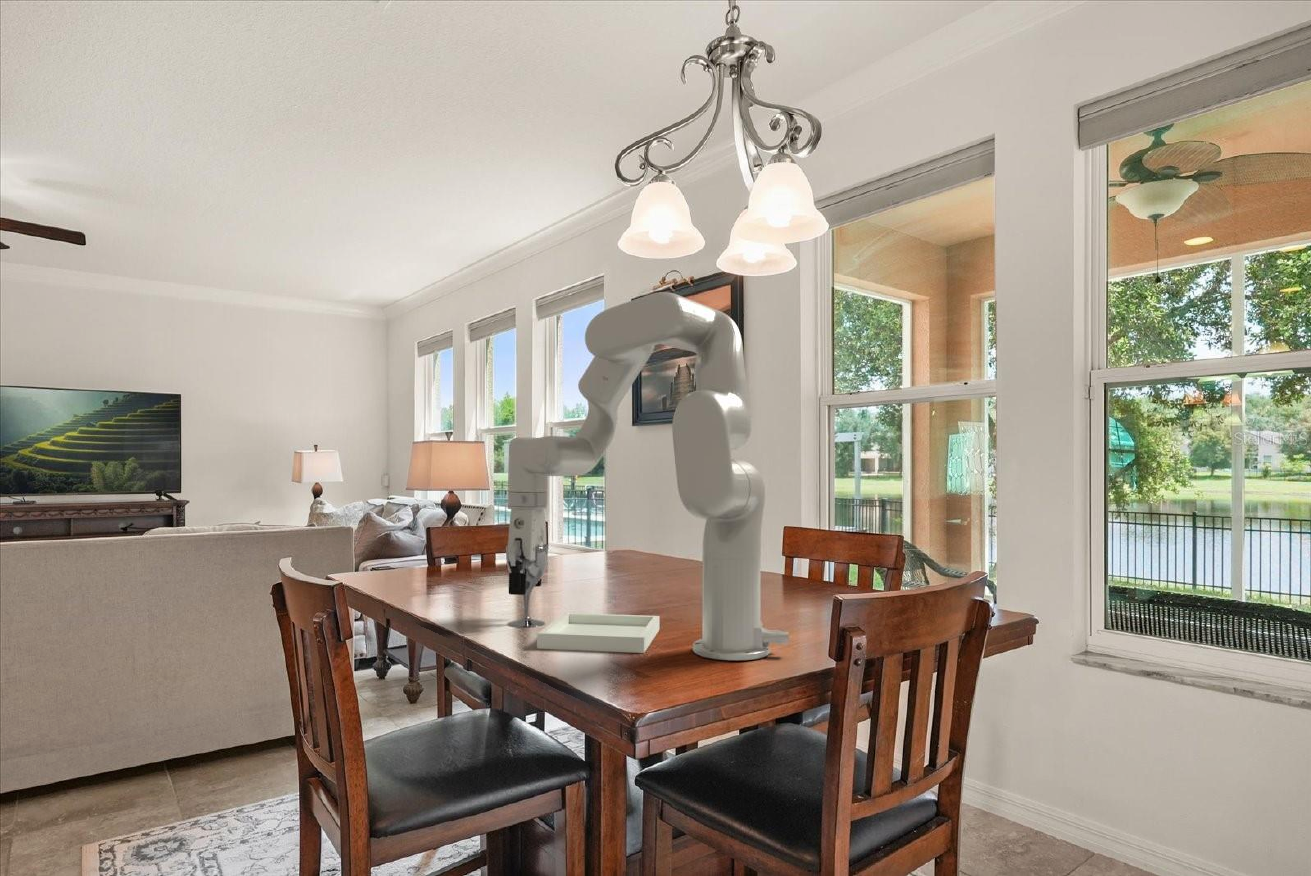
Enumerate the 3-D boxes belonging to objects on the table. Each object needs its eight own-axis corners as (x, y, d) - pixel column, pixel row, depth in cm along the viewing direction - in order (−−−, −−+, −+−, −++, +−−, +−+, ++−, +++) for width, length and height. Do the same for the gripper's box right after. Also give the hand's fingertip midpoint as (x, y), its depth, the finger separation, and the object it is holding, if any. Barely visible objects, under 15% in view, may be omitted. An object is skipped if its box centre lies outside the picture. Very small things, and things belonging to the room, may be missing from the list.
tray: (659, 629, 142) (659, 616, 142) (644, 653, 124) (644, 637, 124) (565, 626, 144) (565, 612, 144) (537, 648, 126) (537, 633, 127)
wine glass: (524, 617, 152) (524, 542, 152) (555, 622, 148) (556, 544, 148) (496, 624, 145) (497, 545, 146) (528, 629, 141) (529, 548, 142)
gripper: (532, 504, 138) (530, 598, 138) (558, 499, 155) (556, 583, 155) (492, 503, 139) (490, 597, 139) (522, 498, 156) (521, 582, 156)
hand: (525, 590), depth 147 cm, fingers open, 9 cm apart
